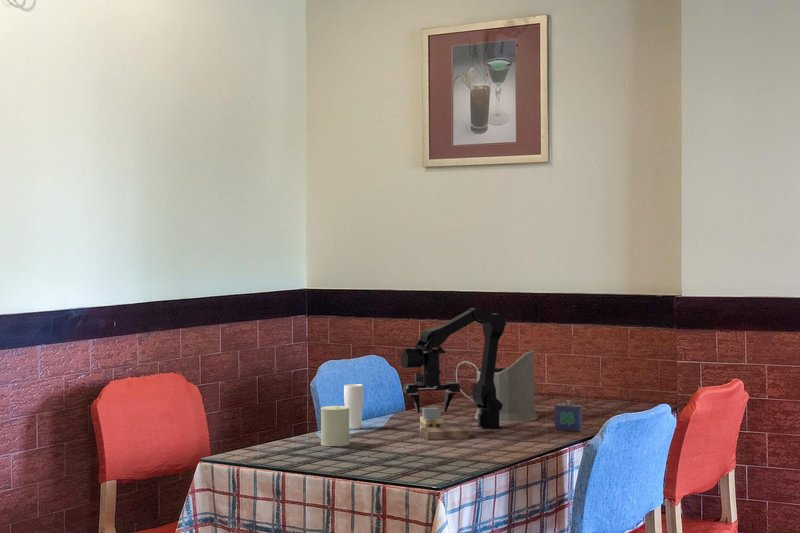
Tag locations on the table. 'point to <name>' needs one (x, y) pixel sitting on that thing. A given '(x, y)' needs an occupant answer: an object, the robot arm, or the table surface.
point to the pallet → (430, 423)
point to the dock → (445, 433)
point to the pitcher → (513, 389)
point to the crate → (431, 413)
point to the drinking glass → (354, 404)
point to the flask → (568, 417)
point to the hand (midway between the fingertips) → (431, 413)
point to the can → (335, 426)
